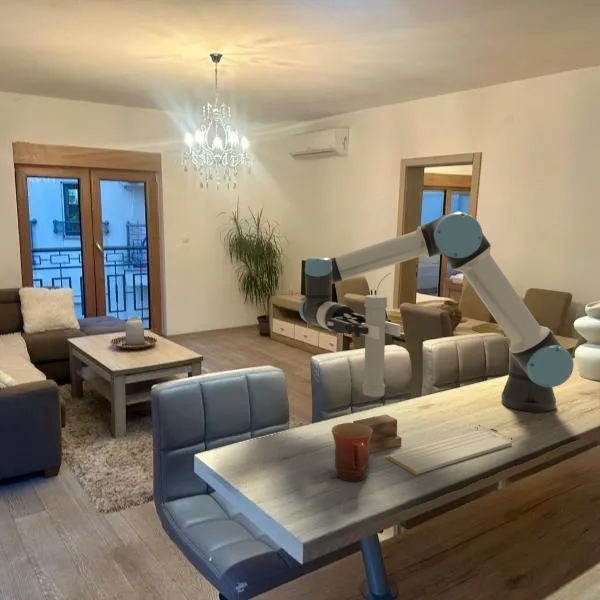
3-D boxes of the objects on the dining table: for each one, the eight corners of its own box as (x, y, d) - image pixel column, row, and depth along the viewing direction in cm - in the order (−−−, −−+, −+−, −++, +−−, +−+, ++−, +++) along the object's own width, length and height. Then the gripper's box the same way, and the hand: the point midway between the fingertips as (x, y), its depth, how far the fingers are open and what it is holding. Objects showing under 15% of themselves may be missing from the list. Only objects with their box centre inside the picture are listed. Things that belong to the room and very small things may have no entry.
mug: (326, 468, 120) (326, 424, 119) (364, 464, 122) (364, 421, 121) (342, 494, 109) (342, 445, 107) (383, 489, 110) (384, 441, 109)
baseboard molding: (381, 457, 127) (416, 478, 117) (381, 445, 127) (416, 465, 117) (474, 431, 143) (512, 447, 132) (474, 421, 142) (512, 436, 132)
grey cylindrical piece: (362, 390, 136) (364, 271, 132) (387, 391, 135) (390, 271, 131) (362, 397, 130) (365, 273, 126) (388, 398, 129) (392, 273, 125)
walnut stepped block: (381, 434, 140) (381, 412, 139) (401, 445, 133) (401, 422, 132) (349, 442, 135) (349, 419, 134) (367, 453, 128) (368, 429, 127)
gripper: (364, 328, 151) (419, 343, 130) (306, 334, 142) (355, 352, 122) (364, 301, 150) (420, 312, 129) (306, 306, 141) (355, 319, 121)
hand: (388, 331), depth 126 cm, fingers closed on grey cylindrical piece, 5 cm apart
